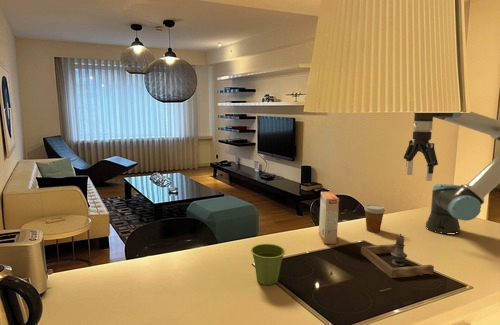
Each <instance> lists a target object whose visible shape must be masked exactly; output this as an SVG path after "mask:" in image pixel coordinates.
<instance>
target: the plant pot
mask: <svg viewBox="0 0 500 325" xmlns="http://www.w3.org/2000/svg"><path fill="white" fill-rule="evenodd" d="M250 252H251V254H252V259H253V262H254V268H255V274H256V275H255V276H256V281H257V282H258V283H259V284H260V285H263V286H271V285H274V284H277V283H278V280H279V276H280V271H281V266H282V261H283V259H284V258H283V257H284V255H286V249H285V248H284V247H282V246H281V245H279V244H274V243H273V244H272V243H261V244H256V245H253V246H252V247H251V249H250Z"/></svg>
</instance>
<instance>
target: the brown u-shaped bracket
mask: <svg viewBox="0 0 500 325" xmlns="http://www.w3.org/2000/svg"><path fill="white" fill-rule="evenodd" d="M393 251H395V243H393V244H391V243H390V244H378V245H377V244H376V245H363V246H361V247H360V254H361V255H362V256H363V257H365V258H366V259H367V260H369V261H370V262H371V263H372V264H373V265H374V266H376V267H377V268H378V269H379V270H380V271H382V272H383V273H384V274H386V275H387V276H388V277H389V278H390V279H395V278H396V279H397V278H406V277H415V276H417V275H419V276H424V275H423V274H430V275H434V270H435V269H434V268H435V266H434V265H433V264H425V265H424V264H423V265H414V266H413V265H412V266H401V267H400V266H398V267H393V266H391V265H390V264H389V263H388V262H386V261H385V260H383V258H380V257H379V256H378V254H391V252H393ZM417 277H418V276H417Z"/></svg>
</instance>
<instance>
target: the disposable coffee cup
mask: <svg viewBox="0 0 500 325" xmlns="http://www.w3.org/2000/svg"><path fill="white" fill-rule="evenodd" d="M385 211H386V209H385V207H384V206H382V205H380V204H366V205H365V206H364V212H365V213H364V214H365V226H366V227H365V228H366V231H367V232H369V233H370V232H371V233H380V232H381V229H382V228H381V226H382V223H383V222H382V221H383V217H384V213H385Z"/></svg>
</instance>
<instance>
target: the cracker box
mask: <svg viewBox="0 0 500 325" xmlns="http://www.w3.org/2000/svg"><path fill="white" fill-rule="evenodd" d="M319 205H320V206H319V222H318V223H319V225H318V235H319V236H320V238H321V240H322V242H323V244H324V245H337V240H338V225H339V207H340V198H339V197H337V195H336V194H335V193H334V192H333V191H320V204H319Z"/></svg>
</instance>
